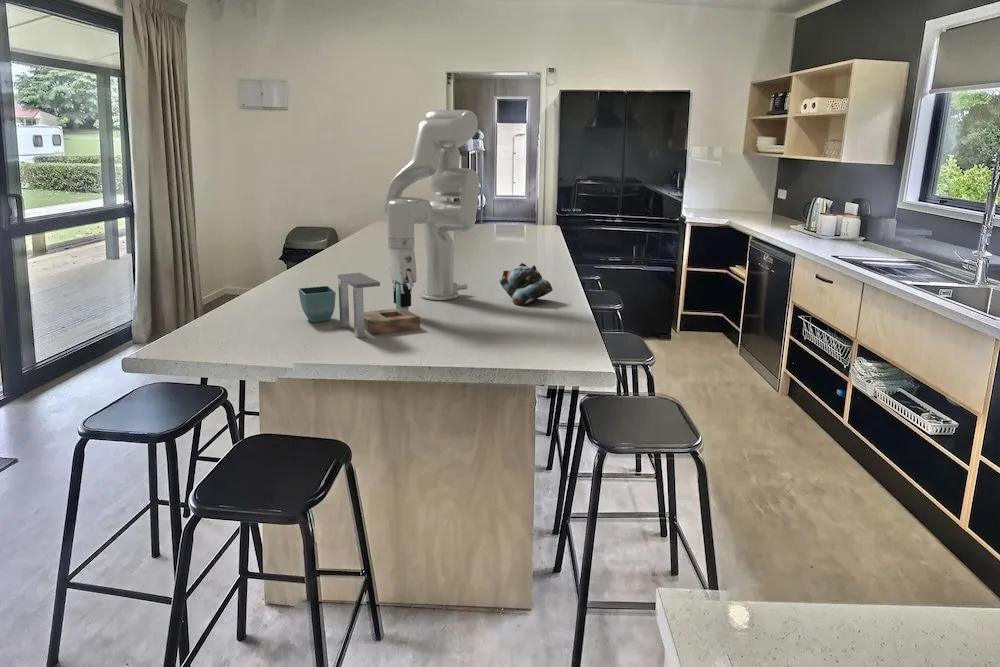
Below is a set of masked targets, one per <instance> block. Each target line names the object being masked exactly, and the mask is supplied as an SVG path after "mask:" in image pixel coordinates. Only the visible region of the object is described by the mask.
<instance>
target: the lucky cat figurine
mask: <svg viewBox="0 0 1000 667" xmlns="http://www.w3.org/2000/svg"><path fill="white" fill-rule="evenodd" d="M499 284H500V285H501V287H502V289H503V290H504V291H505V292H506V293H507V295H508V296H509V297H510V298H511V300H512V303H513V304H514V305H515V306H522V307H523V306H525V305H527V304H529V303H531V302H533V301H535V300H536V299H539V298H541V297H544V296H546V295H548V294H550V293H551V292H552V291H553V287H552V284H551V283H550V281H548V280H546V279H543V276H542V274H541V273H540V272H539V271H538V269H537V267H536V266H535V265H533V264H532V265H530V266H527V265H526V264H525V263H523V262H521V263H520V264H519V265H518V266H517V265H516V266H514V267H513V268H512V269H511V270H503V271H502V276H501V278H499Z"/></svg>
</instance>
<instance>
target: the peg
mask: <svg viewBox="0 0 1000 667" xmlns="http://www.w3.org/2000/svg"><path fill="white" fill-rule="evenodd" d="M404 283H407V281H404ZM405 286H407V285H404V288H405ZM400 294H402V293H401V283H399V282H396V304H395V306H396V308H404V309H406V310H408V311H410V310H409V308H410V306H409V307H401V306H400ZM396 308H395V309H396Z"/></svg>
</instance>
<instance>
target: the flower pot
mask: <svg viewBox="0 0 1000 667" xmlns="http://www.w3.org/2000/svg"><path fill="white" fill-rule="evenodd" d="M297 290H298V295H299V296H298V297H299V301H300V304H301V305H300V307H301V308H302V311H303V313H304V314H305V317H306V318H307V319H308V320H309V321H310V322H311V323H313V324H314V323H318V322H328V321H330V320H331V318H332V316H333V315H334V311H335V307H336V306H335V305H336V291H335V290H334V289H333V288H331V287H330V285H329V286H328V285H322V286H320V285H319V286H311V287H301V288H300V287H299V288H298V289H297Z"/></svg>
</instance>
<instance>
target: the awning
mask: <svg viewBox="0 0 1000 667" xmlns="http://www.w3.org/2000/svg"><path fill="white" fill-rule="evenodd" d="M337 281H338V307H339V308H338V309H339V325H340V326H339V327H341V328H349V327H350V311H349V310H350V305H349V304H350V303H349V302H350V301H349V286H351V287H352V294H353V295H352V299H353V301H352V302H353V324H354V326H353V327H354V337H355V338H357V339H360V338H365V330H364V312H365V311H364V310H365V309H364V308H365V307H364V306H365V305H364V288H371V287H373V288H374V287H381V282H380V281H378V280H376V279H374V278H372V277H370V276H368V275H366V274H364V273H362V272H353V273H339V274H337Z"/></svg>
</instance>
